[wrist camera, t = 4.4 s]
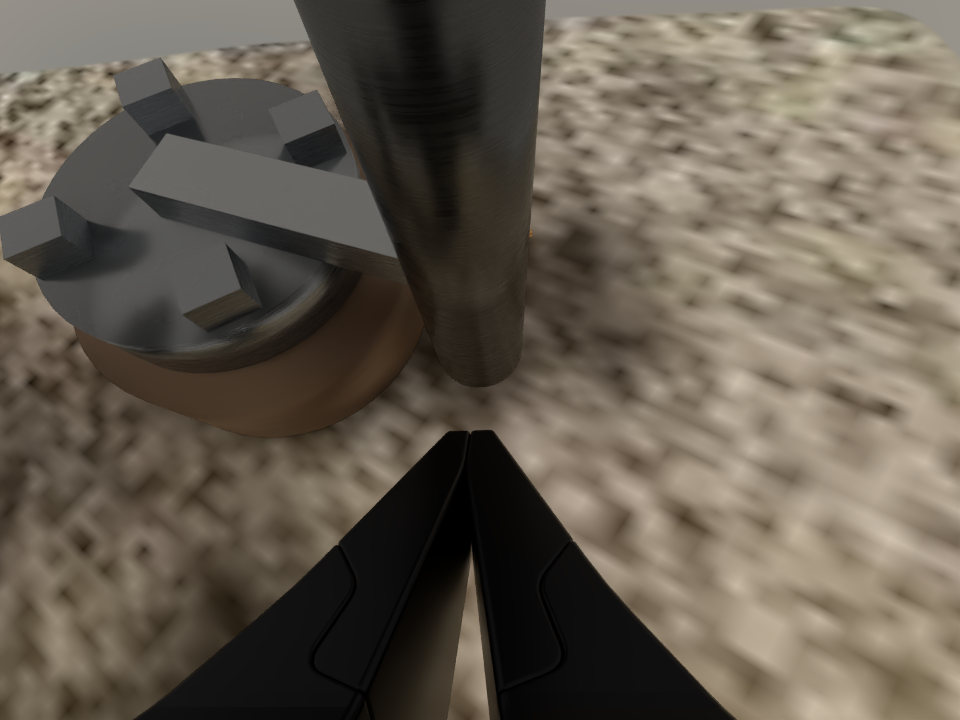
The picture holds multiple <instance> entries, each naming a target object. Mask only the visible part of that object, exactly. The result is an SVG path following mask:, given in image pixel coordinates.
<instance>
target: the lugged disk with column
mask: <svg viewBox="0 0 960 720" xmlns="http://www.w3.org/2000/svg"><path fill="white" fill-rule="evenodd" d="M294 2H295V4H296V7H297V9H298V12H299V14H300V17H301V19H302V22H303V24H304V27H305V29H306V32H307V34H308V37H309V39H310V42H311V44H312V47H313V49H314V52H315V54H316V57H317V59H318V61H319V64H320V66H321V69H322V71H323V74H324V76H325V79H326V81H327V84H328V86H329V89H330V91H331V94H332V96H333V99H334V101H335V104H336V106H337V109H338V111H339V114H340V116H341V119H342V121H343V123H344V126H345V128H346V131H347V133H348V136H349V138H350V141H351V143H352V146H353V148H354V151H355V153H356V156H357V158H358V161H359V163H360V166H361V168H362V171H363V173H364V176H365V178H366V180H367V181H365V180H364V179H363V177H362V174H361V172H360V170H359V167H358V165H357V162H356V160H355V157H354V155H353V152H352V150H351V148H350V145H349V143H348V140H347V138H346V136H345V133H344V132H343V130H342V129H341V127H340V125H339V124H338V122H337V121H336V120H335V119H334V117H333V116H332V115H331V114H330V113H329V112H328V110H327V108H326V106H325V104H324V102H323V100H322V98H321V96H320V94H319V92H318V91H317V90H315V91H313V92H310V93H308V94H303V93H301V92H299V91H297V90H295V89H292V88H290V87H287V86H284V85H281V84H277V83H273V82H269V81H263V80H256V79H242V78H229V79H214V80H208V81H201V82H196V83H192V84H187V85H183V86H181V85H180V83H179V82H178V81H177V79H176V78H175V77H174V75H173V74H172V72H171V71H170V70H169V68H168V67H167V66H166V64H165V63H164V61H163V60H162V59H161V57H160V58H158V59H155V60H152V61H150V62H147V63H145V64H142V65H139V66H137V67H134V68H131V69H129V70H126V71H123V72H121V73H118V74H115V75H113V76H114V80H115V83H116V87H117V90H118V94H119V97H120V101H121V104H122V107H123V108H124V109H125V110H124V111H122V112H121V113H119V114H118V115H116V116H115V117H113V118H112V119H110V120H109V121H107V122H106V123H105V124H103V125H102V126H101V127H100V128H98V129H97V130H96V131H95V132H93V133H92V134H91V135H90V136H89V137H88V138H87V139H86V140H84V141H83V142H82V143H81V144H80V145H79V146H78V147H77V148H76V149H75V150H74V152H73V153H72V154H71V155H70V156H69V157H68V158H67V160H66V161H65V162H64V163H63V165H62V166H61V167H60V169H59V170H58V172H57V173H56V175H55V176H54V177H53V179H52V181H51V183H50V184H49V186H48V188H47V190H46V192H45V194H44V196H43V198H42V200H40V201H38V202H35V203H33V204H30V205H28V206H25V207H23V208H20V209H18V210H15V211H13V212H10V213H8V214H5V215H3V216H0V234H1V242H2V250H3V258H4V260H6V261H8V262H10V263H12V264H13V265H15V266H17V267H19V268H21V269H23V270H24V271H26V272H28V273H30V274H32V275H34V276H35V277H36V280H37V282H38V284H39V287H40V289H41V291H42V293H43V295H44V296H45V298H46V299H47V301H48V302H49V303H50V305H51V306H52V307H53V309H54V310H55V311H56V312H57V313H58V314H59V315H61V316H62V317H63V318H64V319H65V320H66V321H67V322H69V323H70V324H72V325H73V326H75V327H76V328H78V329H80V330H81V331H83V332H85V333H87V334H89V335H91V336H93V337H95V338H98V339H100V340H102V341H104V342H106V343H108V344H110V345H112V346H114V347H117V348H119V349H121V350H123V351H125V352H127V353H129V354H131V355H133V356H136V357H138V358H140V359H142V360H144V361H147V362H149V363H151V364H154V365H156V366H158V367H162V368H166V369H170V370H174V371H180V372H189V373H217V372H224V371H230V370H237V369H240V368H244V367H248V366H251V365H255V364H258V363H261V362H263V361H266V360H268V359H271V358H273V357H276V356H278V355H280V354H282V353H283V352H285V351H287V350H289V349H291V348H293V347H295V346H296V345H298V344H299V343H301V342H302V341H304V340H305V339H307V338H308V337H310V336H311V335H313V334H314V333H315V332H316V331H317V330H318V329H320V328H321V327H322V326H323V325H324V324H325V323H327V322H328V321H329V320H330V319H331V318H332V317H333V316H334V314H335V313H336V312H337V311H338V310H339V309H340V308H341V307H342V306H343V304H344V303H345V302H346V300H347V299H348V298H349V296H350V295H351V294H352V292H353V291H354V289H355V287H356V286H357V284H358V282H359V280H360V278H361V277H362V275H363V273H365V274H369V275H373V276H376V277H380V278H384V279H387V280H391V281H395V282H398V283H402V284H406V285H409V287H410V290H411V292H412V295H413V297H414V300H415V302H416V304H417V307H418V309H419V312H420V314H421V317H422V319H423V322H424V324H425V327H426V329H427V332H428V334H429V337H430V339H431V342H432V344H433V347H434V349H435V352H436V354H437V357H438V359H439V361H440V364H441V366H442V368H443V369H444V371H445V372H446V373H447V375H449V376H450V377H451V378H452V379H453V380H455V381H456V382H458V383H460V384H462V385H465V386H469V387H476V388H478V387H488V386H492V385H495V384H497V383H499V382H501V381H503V380H504V379H506V378H507V377H508V376H509V375H510V374H511V373H512V372H513V371H514V369H515V368H516V366H517V364H518V362H519V360H520V356H521V350H522V336H523V321H524V307H525V292H526V278H527V263H528V249H529V235H530V220H531V206H532V191H533V177H534V162H535V148H536V134H537V119H538V105H539V90H540V76H541V61H542V47H543V32H544V18H545V4H546V0H294Z"/></svg>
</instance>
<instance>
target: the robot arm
mask: <svg viewBox="0 0 960 720" xmlns="http://www.w3.org/2000/svg"><path fill="white" fill-rule="evenodd" d="M338 545H339V546H338ZM338 545H335V546H334V547H333V548H332V549H331V550H330V551H329V552H328V553H327V554H326V555H325V556H324V557H323V558H322V559H321V560H320V561H319V562H318V563H317V564H316V565H315V566H314V567H313V568H312V569H311V570H310V571H309V572H308V573H307V574H306V575H305V576H304V577H303V578H302V579H301V580H299V581H298V582H297V583H296V584H295V585H294V586H293V587H292V588H291V589H290V590H289V591H288V592H286V593H285V594H284V595H283V596H282V597H281V598H280V599H279V600H277V601H276V602H275V603H274V604H273V605H272V606H271V607H269V608H268V609H267V610H266V611H265V612H264V613H263V614H261V615H260V616H259V617H258V618H257V619H256V620H254V621H253V622H252V623H251V624H250V625H249V626H247V627H246V628H245V629H244V630H243V631H241V632H240V633H239V634H238V635H237V636H236V637H234V638H233V639H232V640H231V641H230V642H228V643H227V644H226V645H225V646H224V647H223V648H221V649H220V650H219V651H218V652H217V653H215V654H214V655H213V656H212V657H211V658H209V659H208V660H207V661H206V662H205V663H204V664H202V665H201V666H200V667H199V668H198V669H196V670H195V671H194V672H193V673H192V674H191V675H189V676H188V677H187V678H186V679H185V680H183V681H182V682H181V683H180V684H179V685H178V686H176V687H175V688H174V689H173V690H172V691H170V692H169V693H168V694H167V695H165V696H164V697H163V698H162V699H160V700H159V701H158V702H157V703H155V704H154V705H153V706H152V707H150V708H149V709H147V710H146V711H144V712H143V713H142V714H140V715H139V716H137V717H136V718H134V719H133V720H447V716H448V709H449V703H450V696H451V689H452V683H453V676H454V669H455V663H456V656H457V649H458V643H459V636H460V630H461V623H462V616H463V610H464V603H465V596H466V590H467V583H468V576H469V570H470V562H471V553H473V566H474V575H475V585H476V594H477V603H478V613H479V622H480V632H481V641H482V650H483V660H484V669H485V678H486V688H487V697H488V706H489V716H490V720H737V719H736V718H735V717H734V716H733V715H731V714H730V713H729V712H728V711H727V710H726V709H725V708H724V707H723V706H722V705H721V704H720V703H719V702H718V701H717V700H716V699H715V698H714V697H713V696H712V695H711V694H710V693H709V692H708V691H707V690H706V689H705V688H704V687H703V686H702V685H701V684H700V683H699V682H698V681H697V680H696V679H695V678H694V676H693V675H692V674H691V673H690V672H689V671H688V670H687V669H686V668H685V667H684V666H683V665H682V664H681V663H680V662H679V661H678V660H677V658H676V657H675V656H674V655H673V654H672V653H671V652H670V651H669V650H668V649H667V648H666V647H665V646H664V645H663V644H662V643H661V642H660V641H659V639H658V638H657V637H656V636H655V635H654V634H653V633H652V632H651V631H650V630H649V629H648V628H647V627H646V626H645V625H644V624H643V623H642V621H641V620H640V619H639V618H638V617H637V616H636V615H635V614H634V613H633V612H632V611H631V610H630V609H629V607H628V606H627V605H626V604H625V603H624V602H623V601H622V600H621V599H620V597H619V596H618V595H617V594H616V593H615V592H614V591H613V590H612V589H611V587H610V586H609V585H608V584H607V583H606V581H605V580H604V579H603V578H602V576H601V575H600V574H599V573H598V571H597V570H596V569H595V568H594V566H593V565H592V564H591V563H590V561H589V560H588V559H587V557H586V556H585V555H584V553H583V552H582V550H581V549H580V548H579V546H578V545H577V544H576V542H574V541H573V539H572V537H571V536H570V534H569V533H568V532H567V530H566V529H565V528H564V526H563V525H562V524H561V522H560V521H559V519H558V518H557V517H556V515H555V514H554V513H553V511H552V510H551V509H550V507H549V506H548V504H547V503H546V502H545V500H544V499H543V498H542V496H541V495H540V494H539V492H538V491H537V489H536V488H535V487H534V485H533V484H532V483H531V481H530V480H529V479H528V477H527V476H526V474H525V473H524V472H523V470H522V469H521V468H520V466H519V465H518V464H517V462H516V461H515V460H514V458H513V457H512V455H511V454H510V453H509V451H508V450H507V449H506V447H505V446H504V445H503V443H502V442H501V440H500V439H499V438H498V436H497V435H496V434H495V432H494V431H492V430H475V431H472V432H471V434H470V432H468V431H449V432H447V433H446V434H445V435H444V436H443V437H442V438H441V439H440V440H439V441H438V442H437V443H436V444H435V445H434V446H433V447H432V448H431V449H430V450H429V451H428V452H427V453H426V454H425V455H424V456H423V457H422V458H421V459H420V460H419V461H418V462H417V463H416V464H415V465H414V466H413V467H412V468H411V469H410V470H409V471H408V472H407V473H406V474H405V475H404V476H403V477H402V478H401V479H400V480H399V481H398V482H397V484H396V485H395V486H394V487H393V488H392V489H391V490H390V491H389V492H388V493H387V494H386V495H385V496H384V497H383V498H382V499H381V500H380V501H379V502H378V503H377V504H376V505H375V506H374V507H373V508H372V509H371V510H370V511H369V512H368V513H367V514H366V515H365V516H364V517H363V518H362V519H361V520H360V521H359V522H358V523H357V524H356V525H355V526H354V527H353V528H352V529H351V530H350V531H349V532H348V533H347V534H346V535H345V536H344V537H343V538H342V539H341V540H340V541H339V543H338Z"/></svg>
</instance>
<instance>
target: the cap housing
mask: <svg viewBox="0 0 960 720" xmlns="http://www.w3.org/2000/svg"><path fill="white" fill-rule="evenodd" d="M343 132H344V133H345V136H346V138H347V140H348V143H349V145H350V148H351V150H352V152H353V155H354V157H355V160H356V162H357V165H358V167H359V170H360V172H361V174H362V177H363V179H364V180H365V181H367V180H366V178H365V176H364V173H363V171H362V168H361V166H360V163H359V161H358V158H357V156H356V153H355V151H354V148H353V146H352V143H351V141H350V138H349V136H348V133H347V132H346V131H343ZM531 236H532V231H531V230H530V235H529V238H530V237H531ZM423 327H424V322H423V319H422V317H421V314H420V312H419V309H418V307H417V304H416V302H415V300H414V297H413V295H412V292H411V290H410V287H409V285H406V284H402V283H398V282H395V281H391V280H387V279H384V278H380V277H376V276H373V275H369V274H365V273H363V275H362V277H361V278H360V280H359V282H358V284H357V286H356V287H355V289H354V291H353V292H352V294H351V295H350V296H349V298H348V299H347V300H346V302H345V303H344V304H343V306H342V307H341V308H340V309H339V310H338V311H337V312H336V313H335V314H334V316H333V317H332V318H331V319H330V320H329V321H328V322H327V323H325V324H324V325H323V326H322V327H321V328H320V329H318V330H317V331H316V332H315V333H314V334H313V335H311V336H310V337H308V338H307V339H305V340H304V341H302V342H301V343H299V344H298V345H296V346H295V347H293V348H291V349H289V350H287V351H285V352H283V353H282V354H280V355H278V356H276V357H273V358H271V359H268V360H266V361H263V362H261V363H258V364H255V365H251V366H248V367H244V368H240V369H237V370H230V371H224V372H217V373H189V372H180V371H174V370H170V369H166V368H162V367H158V366H156V365H154V364H151V363H149V362H147V361H144V360H142V359H140V358H138V357H136V356H133V355H131V354H129V353H127V352H125V351H123V350H121V349H119V348H117V347H114V346H112V345H110V344H108V343H106V342H104V341H102V340H100V339H98V338H95V337H93V336H91V335H89V334H87V333H85V332H83V331H81V330H80V329H78V328H76V327H75V326H74V328H75V332H76V335H77V338H78V340H79V342H80V344H81V346H82V348H83V350H84V352H85V354H86V355H87V356H88V358H89V359H90V360H91V362H92V363H93V365H94V366H95V367H96V368H97V369H98V370H99V371H100V372H101V373H102V374H103V375H104V376H105V377H106V378H107V379H108V380H109V381H110V382H112V383H113V384H115V385H116V386H118V387H119V388H121V389H122V390H124V391H125V392H127V393H129V394H131V395H134V396H136V397H138V398H140V399H143V400H145V401H147V402H150V403H152V404H155V405H158V406H161V407H163V408H166V409H169V410H172V411H174V412H177V413H180V414H183V415H185V416H188V417H191V418H194V419H196V420H199V421H202V422H205V423H207V424H210V425H213V426H216V427H218V428H221V429H224V430H227V431H230V432H234V433H238V434H241V435H246V436H254V437H262V438H268V437H288V436H294V435H301V434H305V433H309V432H312V431H316V430H319V429H322V428H325V427H327V426H330V425H332V424H335V423H337V422H339V421H341V420H343V419H345V418H347V417H348V416H350V415H352V414H354V413H356V412H357V411H359V410H360V409H362V408H363V407H364V406H366V405H367V404H368V403H370V402H371V401H373V400H374V399H375V398H376V397H377V396H378V395H379V394H380V393H382V392H383V391H384V390H385V389H386V388H387V387H388V386H389V385H390V384H391V383H392V381H393V380H394V379H395V378H396V377H397V375H398V374H399V373H400V372H401V371H402V369H403V368H404V366H405V364H406V363H407V361H408V360H409V358H410V357H411V355H412V353H413V351H414V349H415V347H416V345H417V343H418V341H419V339H420V336H421V333H422V330H423Z"/></svg>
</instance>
